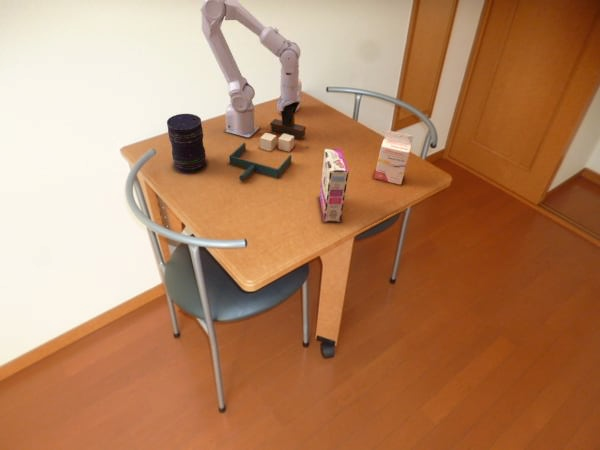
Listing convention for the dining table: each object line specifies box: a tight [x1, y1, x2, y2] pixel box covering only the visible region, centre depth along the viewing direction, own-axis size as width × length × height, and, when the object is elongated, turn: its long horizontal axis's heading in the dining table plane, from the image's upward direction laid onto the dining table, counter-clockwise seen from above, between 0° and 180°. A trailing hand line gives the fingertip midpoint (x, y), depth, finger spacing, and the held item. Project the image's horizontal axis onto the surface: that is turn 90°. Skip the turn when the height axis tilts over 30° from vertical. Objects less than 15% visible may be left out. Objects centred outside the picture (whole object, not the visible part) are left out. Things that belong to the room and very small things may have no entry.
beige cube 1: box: [259, 132, 277, 152], centre depth 139 cm, size 4×4×4 cm
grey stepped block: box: [270, 112, 307, 140], centre depth 144 cm, size 12×4×8 cm, turn 67°
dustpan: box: [228, 142, 292, 183], centre depth 129 cm, size 17×16×3 cm
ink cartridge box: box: [374, 129, 414, 185], centre depth 125 cm, size 9×5×15 cm, turn 71°
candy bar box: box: [318, 148, 350, 223], centre depth 111 cm, size 11×5×16 cm, turn 5°
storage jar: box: [166, 113, 207, 175], centre depth 126 cm, size 10×10×15 cm
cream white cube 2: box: [277, 133, 295, 153], centre depth 140 cm, size 4×4×4 cm
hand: (288, 122), depth 144 cm, fingers closed on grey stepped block, 2 cm apart
